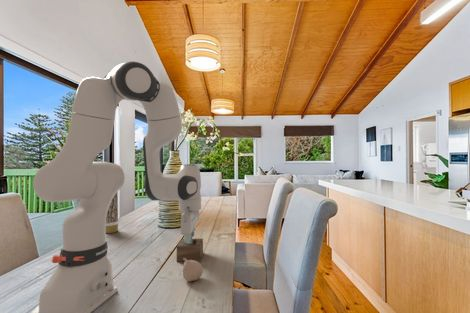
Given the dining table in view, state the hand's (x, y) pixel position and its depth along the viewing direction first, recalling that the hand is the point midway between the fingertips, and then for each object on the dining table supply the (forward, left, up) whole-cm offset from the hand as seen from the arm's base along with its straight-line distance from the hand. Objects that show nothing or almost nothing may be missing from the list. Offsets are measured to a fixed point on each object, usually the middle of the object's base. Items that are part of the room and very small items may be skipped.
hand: (190, 239), depth 103 cm
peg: (0, 0, -7) cm, 7 cm away
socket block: (0, 0, -7) cm, 7 cm away
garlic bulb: (-19, -4, -7) cm, 21 cm away
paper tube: (+36, +49, -7) cm, 61 cm away
